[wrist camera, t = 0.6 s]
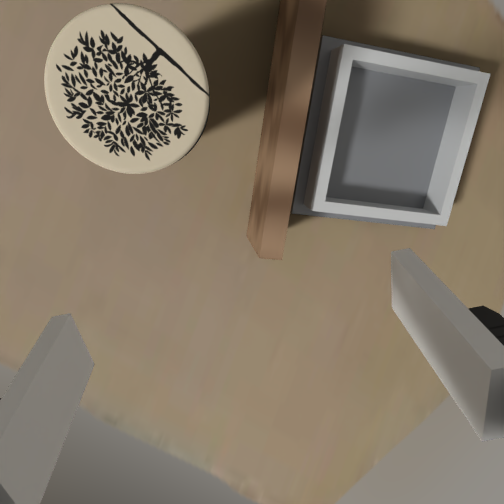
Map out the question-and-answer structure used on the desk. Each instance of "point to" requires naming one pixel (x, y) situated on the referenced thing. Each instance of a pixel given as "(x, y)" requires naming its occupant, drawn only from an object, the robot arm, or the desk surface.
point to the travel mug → (127, 88)
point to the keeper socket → (385, 135)
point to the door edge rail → (284, 123)
